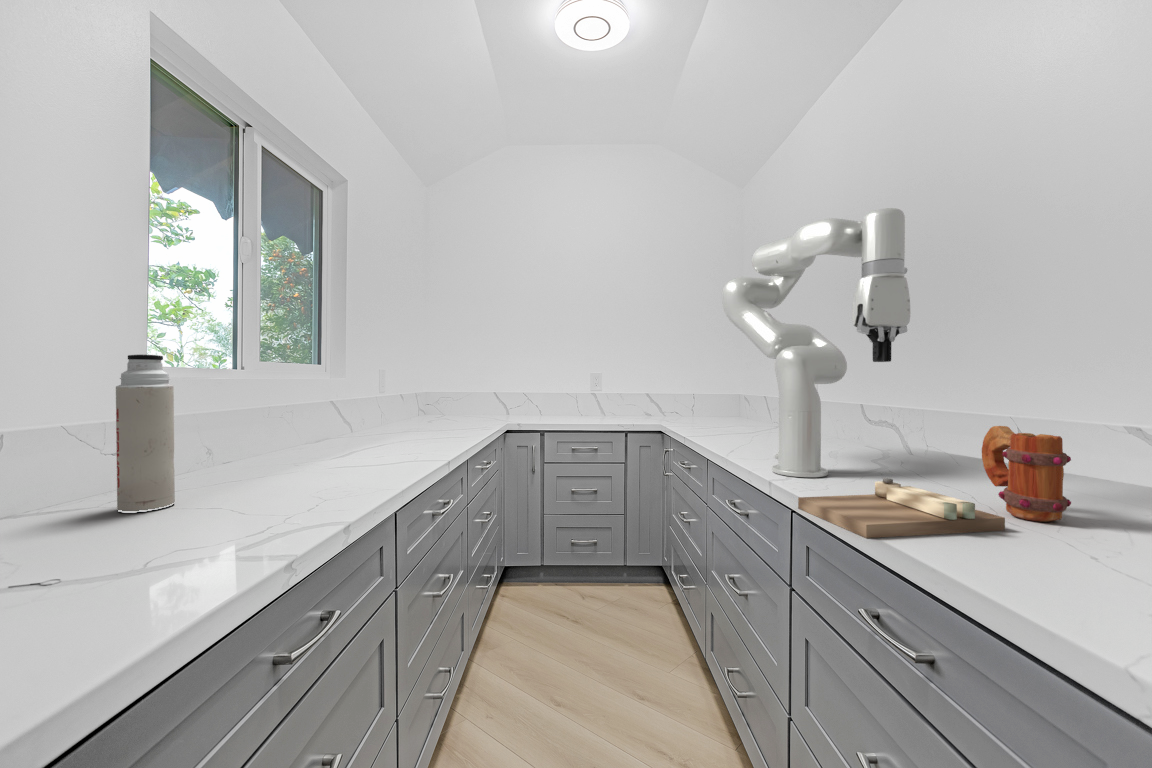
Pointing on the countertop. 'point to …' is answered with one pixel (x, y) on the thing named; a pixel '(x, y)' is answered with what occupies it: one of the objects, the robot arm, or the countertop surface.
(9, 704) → the countertop surface
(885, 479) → the tongs fixed
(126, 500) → the thermos bottle
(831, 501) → the board
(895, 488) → the tong arm
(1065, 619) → the countertop surface
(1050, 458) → the mug
